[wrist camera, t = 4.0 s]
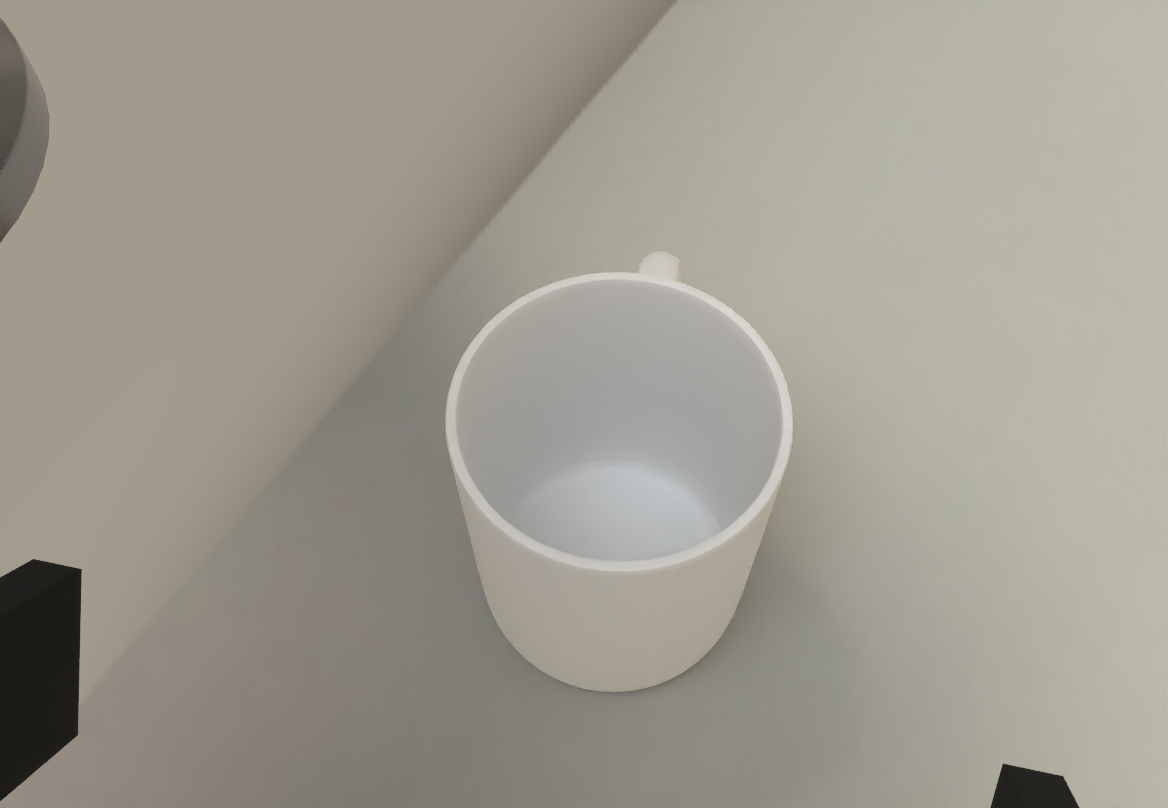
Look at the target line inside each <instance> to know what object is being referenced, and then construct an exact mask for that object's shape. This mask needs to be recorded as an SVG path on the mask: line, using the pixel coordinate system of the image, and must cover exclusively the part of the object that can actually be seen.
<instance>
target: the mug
mask: <svg viewBox="0 0 1168 808" xmlns="http://www.w3.org/2000/svg"><path fill="white" fill-rule="evenodd" d="M683 281H684V273H683V267H682V265H681V263H680V261H679V260H678V259H677V258H676V257H675V256H674V255H672V254H670V253H667V252H664V251H658V252H652V253H650V254H648V255H646V256H645V257H644V258H643V259H642V260H641V261H640V262H639V264H638V265H637V267H636V270H635V272H634V273H623V272H608V273H595V274H587V275H582V276H576V277H571V278H567V279H564V280H561V281H557V282H554V283H551V284H548V285H546V286H544V287H541V288H539V289H537V290H534V291H532V292H530V293H528V294H527V295H525V296H523V297H521V298H520V299H518V300H516V301H514V302H513V303H511V304H510V305H509V306H507V307H506V308H505V309H503V310H502V311H501V312H499V313H498V314H497V315H496V316H495V317H494V318H493V319H491V320H490V321H489V322H488V323H487V324H486V325H485V326H484V327H483V328H482V330H481V331H480V332H479V333H478V334H477V336H476V337H475V338H474V339H473V341H472V342H471V343H470V345H469V347H468V348H467V350H466V351H465V353H464V355H463V356H462V358H461V360H460V362H459V364H458V366H457V369H456V371H455V373H454V375H453V378H452V381H451V385H450V388H449V392H448V396H447V403H446V411H445V435H446V441H447V447H448V452H449V457H450V461H451V465H452V469H453V473H454V477H455V481H456V485H457V489H458V493H459V497H460V500H461V504H462V508H463V512H464V516H465V520H466V524H467V528H468V532H469V536H470V540H471V544H472V548H473V552H474V556H475V560H476V564H477V568H478V572H479V576H480V580H481V583H482V587H483V590H484V594H485V596H486V599H487V602H488V605H489V608H490V610H491V612H492V614H493V616H494V618H495V620H496V622H497V624H498V626H499V628H500V629H501V631H502V632H503V634H504V635H505V637H506V638H507V640H508V641H509V642H510V643H511V644H512V645H513V647H514V648H515V649H516V650H517V651H518V652H519V653H520V654H521V655H522V656H523V657H524V658H525V659H526V660H528V661H529V662H530V663H531V664H532V665H534V666H535V667H536V668H538V669H539V670H541V671H543V672H544V673H546V674H547V675H549V676H551V677H553V678H555V679H557V680H559V681H562V682H564V683H566V684H569V685H572V686H576V687H579V688H582V689H588V690H594V691H600V692H624V691H634V690H639V689H644V688H648V687H652V686H655V685H658V684H660V683H663V682H666V681H668V680H670V679H672V678H674V677H676V676H678V675H679V674H681V673H683V672H685V671H686V670H687V669H689V668H690V667H691V666H693V665H694V664H696V663H697V662H698V661H699V660H700V659H702V658H703V657H704V656H705V655H706V654H707V653H708V652H709V651H710V650H711V649H712V648H713V646H714V645H715V644H716V643H717V641H718V640H719V639H720V637H721V636H722V635H723V633H724V632H725V630H726V628H727V626H728V625H729V623H730V621H731V619H732V617H733V616H734V613H735V611H736V609H737V606H738V603H739V601H740V598H741V596H742V593H743V590H744V588H745V585H746V582H747V579H748V576H749V573H750V571H751V568H752V565H753V562H754V559H755V556H756V554H757V551H758V548H759V545H760V542H761V539H762V537H763V534H764V531H765V528H766V525H767V523H768V520H769V517H770V514H771V511H772V508H773V506H774V503H775V500H776V497H777V494H778V491H779V489H780V486H781V483H782V480H783V477H784V474H785V472H786V469H787V466H788V462H789V458H790V454H791V449H792V444H793V429H794V422H793V410H792V403H791V399H790V394H789V390H788V386H787V383H786V381H785V378H784V376H783V373H782V371H781V368H780V366H779V364H778V362H777V361H776V359H775V357H774V355H773V354H772V352H771V350H770V349H769V347H768V346H767V345H766V343H765V342H764V341H763V339H762V338H761V337H760V335H759V334H758V333H757V332H756V331H755V330H754V329H753V328H752V327H751V326H750V325H749V324H748V323H747V322H746V321H745V320H744V319H743V318H742V317H741V316H739V315H738V314H737V313H736V312H734V311H733V310H732V309H731V308H729V307H728V306H727V305H725V304H723V303H722V302H720V301H719V300H717V299H715V298H714V297H712V296H710V295H708V294H706V293H704V292H702V291H700V290H698V289H696V288H694V287H691V286H688V285H685V284H683Z"/></svg>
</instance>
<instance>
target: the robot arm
mask: <svg viewBox="0 0 1168 808" xmlns="http://www.w3.org/2000/svg"><path fill="white" fill-rule="evenodd" d="M80 613H81V569H78V568H73V567H68V566H64V565H59V564H54V563H49V562H44V561H40V560H35V559H33V560H31V561H29V562H27V563H26V564H24V565H22V566H20V567H19V568H17V569H15V570H13V571H11V572H9V573H8V574H6V575H4V576H2V577H0V801H1V800H2V799H3V798H5V797H6V796H7V795H8V794H9V793H10V792H12V791H13V790H14V789H15V788H16V787H17V786H19V785H20V784H21V783H22V782H23V781H25V780H26V779H27V778H28V777H29V776H30V775H32V774H33V773H34V772H35V771H36V770H37V769H39V768H40V767H41V766H42V765H43V764H44V763H46V762H47V761H48V760H49V759H50V758H51V757H53V756H54V755H55V754H56V753H57V752H58V751H60V750H61V749H62V748H63V747H64V746H65V745H67V744H68V743H69V742H70V741H71V740H72V739H74V738H75V737H76V736H77V735H78V702H79V658H80ZM991 808H1079V806H1078V804H1077V802H1076V800H1075V798H1074V797H1073V795H1072V793H1071V791H1070V789H1069V787H1068V785H1067V783H1066V781H1065V779H1064V777H1063V776H1059V775H1054V774H1049V773H1045V772H1040V771H1035V770H1030V769H1026V768H1021V767H1016V766H1011V765H1007V764H1003V765H1002V769H1001V772H1000V776H999V779H998V783H997V787H996V790H995V794H994V797H993V801H992V804H991Z"/></svg>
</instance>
